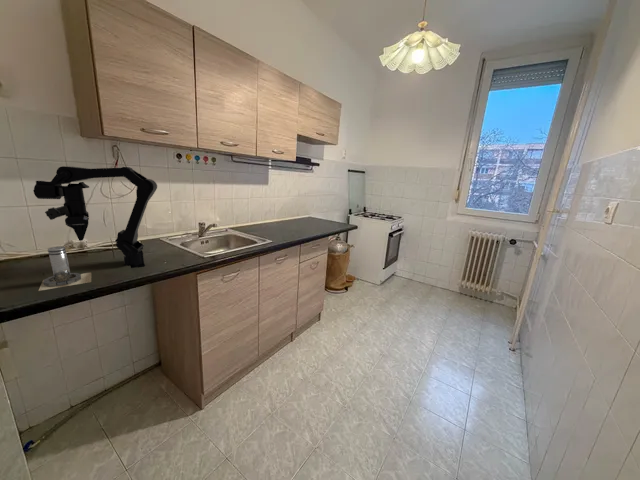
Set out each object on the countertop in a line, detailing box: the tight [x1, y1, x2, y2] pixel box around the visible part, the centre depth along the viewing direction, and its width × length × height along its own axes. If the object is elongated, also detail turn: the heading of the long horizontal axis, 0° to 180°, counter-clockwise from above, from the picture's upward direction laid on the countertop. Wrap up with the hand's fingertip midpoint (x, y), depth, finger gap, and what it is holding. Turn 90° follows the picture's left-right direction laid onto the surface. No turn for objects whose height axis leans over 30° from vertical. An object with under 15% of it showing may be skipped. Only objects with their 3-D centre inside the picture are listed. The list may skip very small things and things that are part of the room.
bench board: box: [38, 272, 92, 292], centre depth 91 cm, size 13×11×1 cm
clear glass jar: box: [47, 245, 72, 282], centre depth 89 cm, size 4×4×12 cm
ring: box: [42, 272, 82, 287], centre depth 91 cm, size 9×9×1 cm
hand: (81, 238), depth 102 cm, fingers open, 9 cm apart
